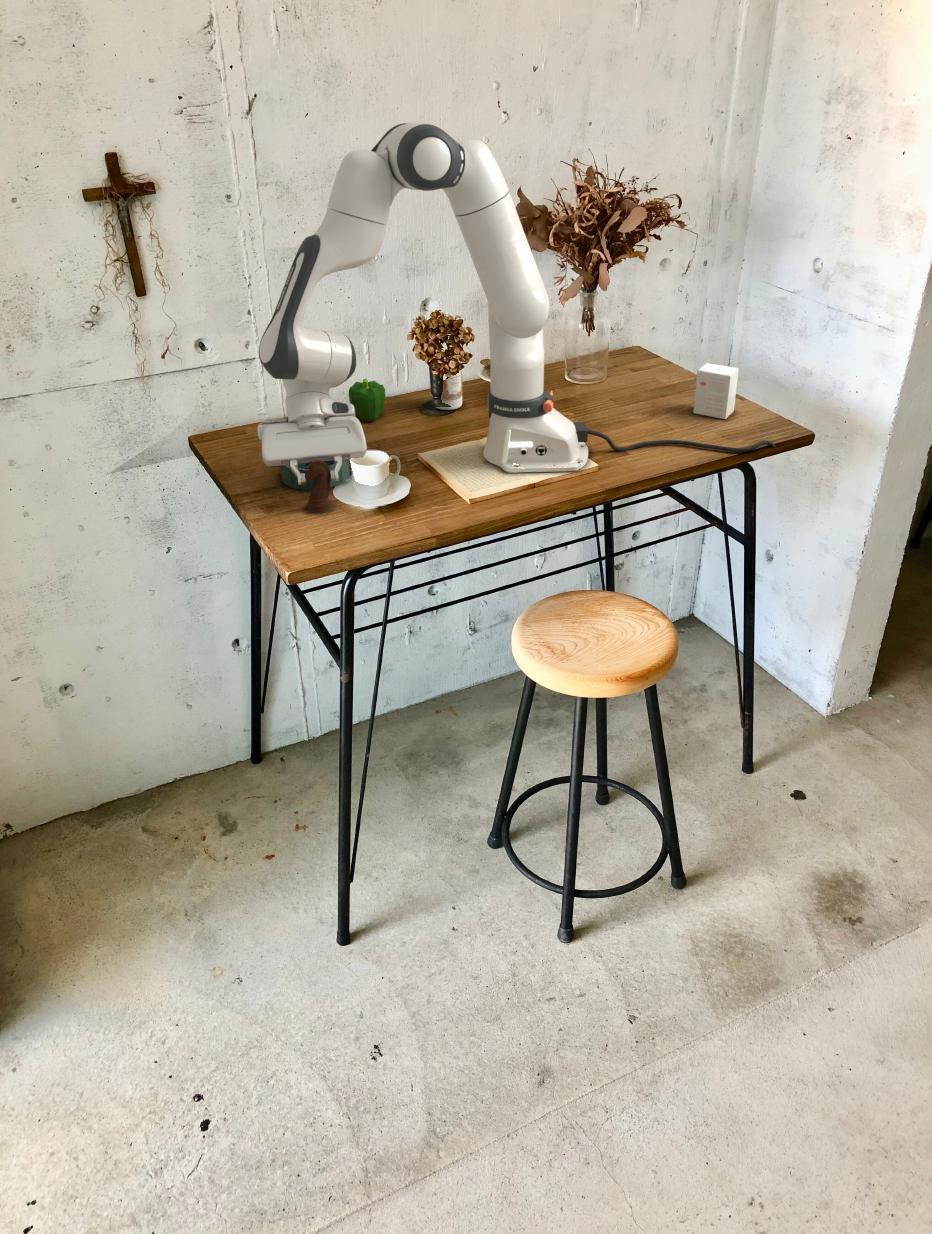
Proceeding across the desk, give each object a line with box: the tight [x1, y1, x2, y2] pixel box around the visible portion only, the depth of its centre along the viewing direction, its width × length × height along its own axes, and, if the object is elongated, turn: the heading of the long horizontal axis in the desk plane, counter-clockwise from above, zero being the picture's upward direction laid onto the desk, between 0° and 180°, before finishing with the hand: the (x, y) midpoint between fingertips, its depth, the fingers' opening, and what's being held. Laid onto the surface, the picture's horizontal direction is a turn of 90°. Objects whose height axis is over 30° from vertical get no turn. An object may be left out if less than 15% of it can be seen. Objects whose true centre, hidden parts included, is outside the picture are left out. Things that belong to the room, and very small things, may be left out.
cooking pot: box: [269, 459, 351, 491], centre depth 211 cm, size 14×18×4 cm
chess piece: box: [305, 461, 332, 514], centre depth 197 cm, size 5×5×10 cm
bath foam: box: [435, 370, 463, 411], centre depth 237 cm, size 7×7×20 cm
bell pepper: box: [348, 378, 386, 423], centre depth 234 cm, size 8×8×10 cm
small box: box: [692, 362, 740, 420], centre depth 233 cm, size 8×6×10 cm
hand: (318, 482), depth 196 cm, fingers closed on chess piece, 5 cm apart
